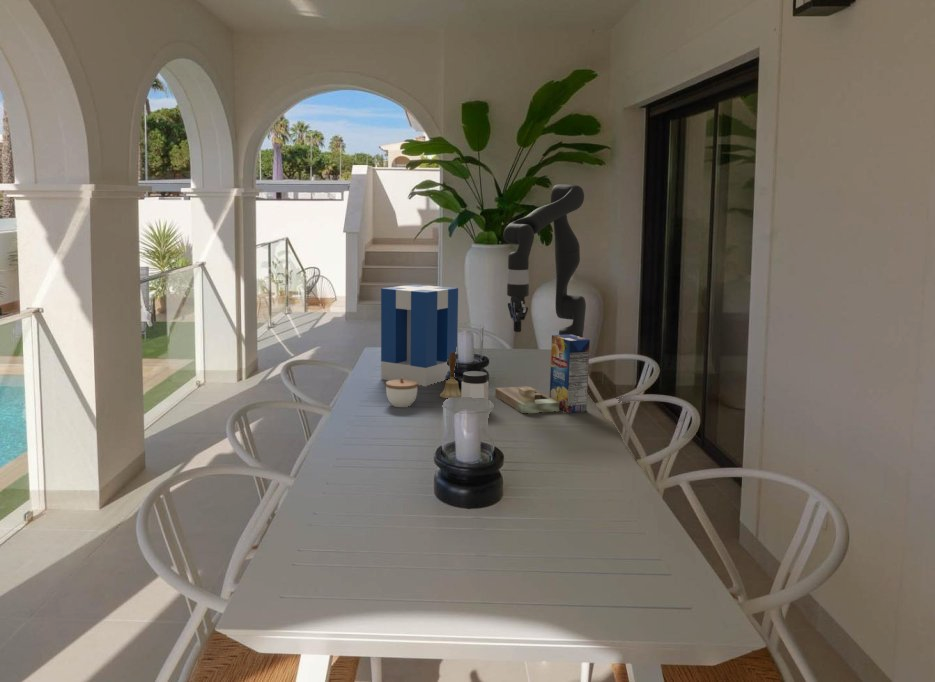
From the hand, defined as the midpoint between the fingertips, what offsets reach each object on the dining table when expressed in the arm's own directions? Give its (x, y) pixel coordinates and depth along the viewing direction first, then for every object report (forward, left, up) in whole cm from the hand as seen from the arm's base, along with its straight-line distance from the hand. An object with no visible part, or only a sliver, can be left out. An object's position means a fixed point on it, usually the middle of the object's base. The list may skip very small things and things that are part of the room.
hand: (517, 331), depth 277 cm
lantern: (+25, -38, -24) cm, 51 cm away
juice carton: (-11, +20, -23) cm, 33 cm away
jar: (+20, +13, -23) cm, 33 cm away
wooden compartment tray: (0, +11, -23) cm, 26 cm away
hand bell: (+22, -6, -24) cm, 33 cm away
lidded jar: (+42, +2, -23) cm, 48 cm away
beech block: (+4, +18, -20) cm, 28 cm away
